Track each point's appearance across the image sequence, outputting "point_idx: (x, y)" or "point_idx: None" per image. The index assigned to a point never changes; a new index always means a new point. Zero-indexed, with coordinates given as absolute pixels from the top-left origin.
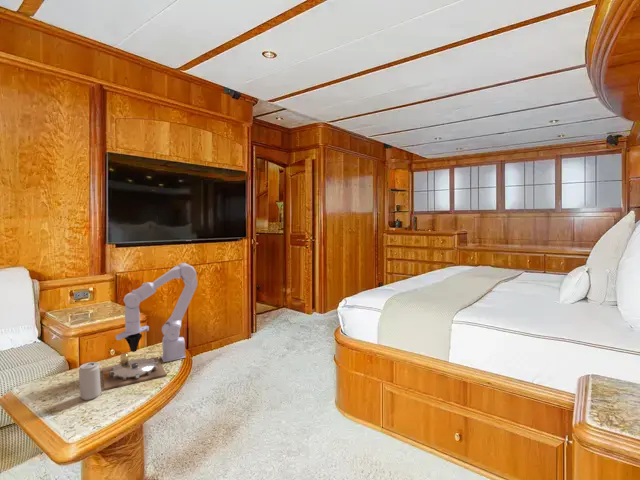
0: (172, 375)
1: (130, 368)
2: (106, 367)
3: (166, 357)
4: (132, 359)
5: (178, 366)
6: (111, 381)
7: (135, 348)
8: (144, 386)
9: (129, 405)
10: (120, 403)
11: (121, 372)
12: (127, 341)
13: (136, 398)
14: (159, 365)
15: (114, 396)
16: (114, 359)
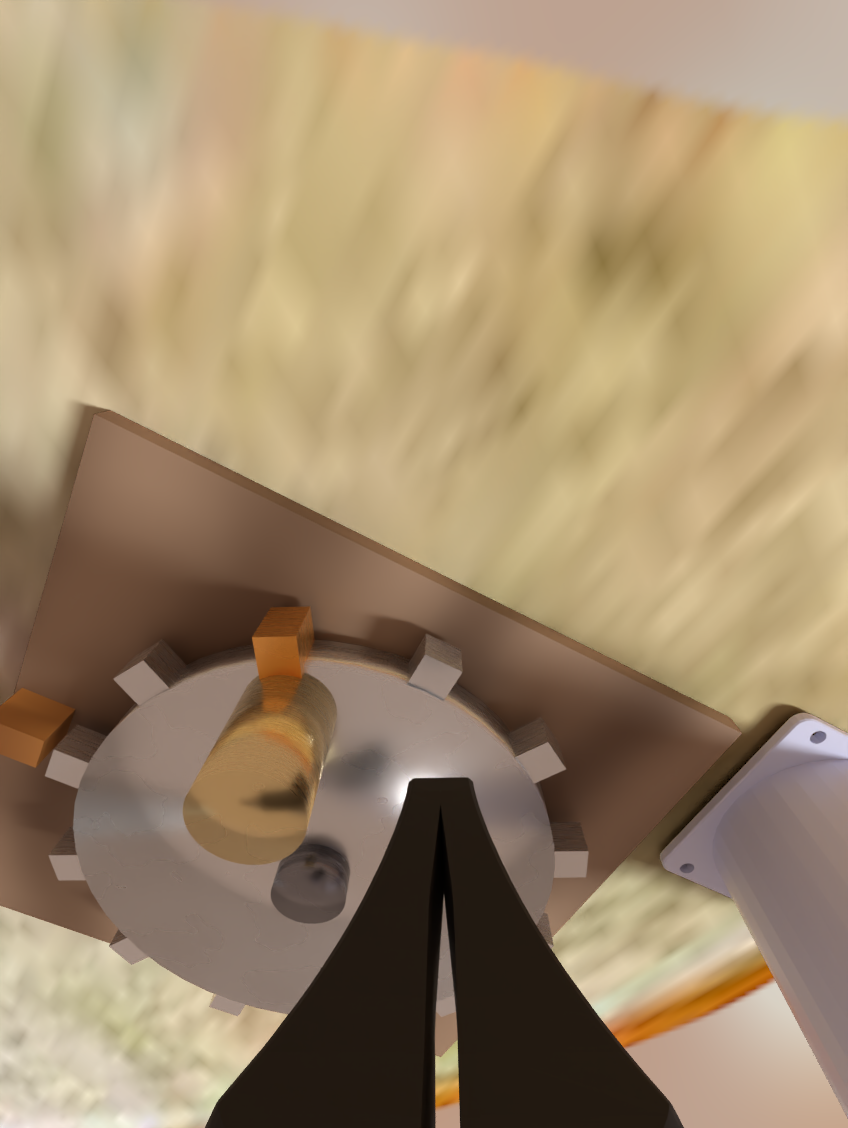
0: None
1: (252, 876)
2: (148, 451)
3: (726, 879)
4: (441, 669)
5: (637, 995)
6: (48, 837)
7: (440, 915)
8: (231, 1030)
9: (42, 1114)
10: (7, 1070)
11: (135, 880)
12: (314, 1002)
13: (109, 1092)
14: (547, 913)
15: (6, 989)
16: (433, 146)
